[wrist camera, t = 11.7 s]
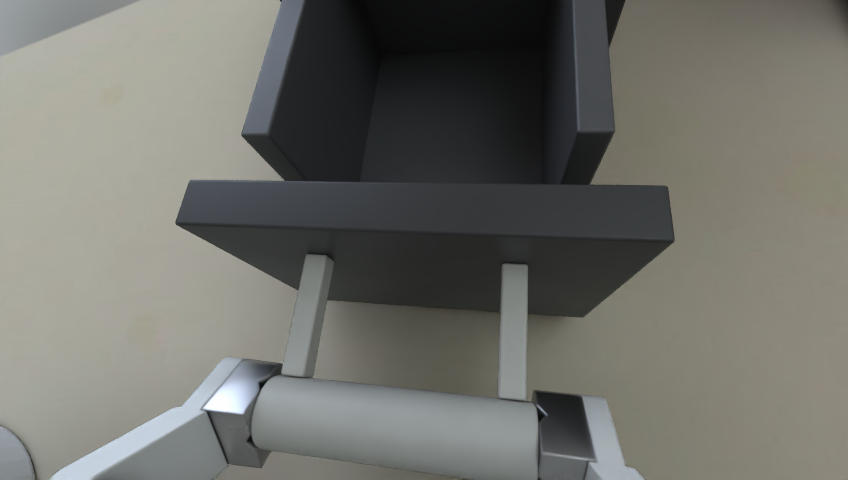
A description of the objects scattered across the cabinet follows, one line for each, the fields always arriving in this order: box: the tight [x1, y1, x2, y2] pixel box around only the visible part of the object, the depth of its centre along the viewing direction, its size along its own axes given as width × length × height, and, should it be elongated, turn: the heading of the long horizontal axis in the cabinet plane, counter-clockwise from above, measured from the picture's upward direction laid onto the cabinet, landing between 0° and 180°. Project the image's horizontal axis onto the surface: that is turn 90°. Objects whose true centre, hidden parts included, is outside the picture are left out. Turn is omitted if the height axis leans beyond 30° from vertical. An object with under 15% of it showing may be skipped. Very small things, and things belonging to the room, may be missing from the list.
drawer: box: [176, 0, 675, 480], centre depth 13 cm, size 17×11×8 cm, turn 174°
